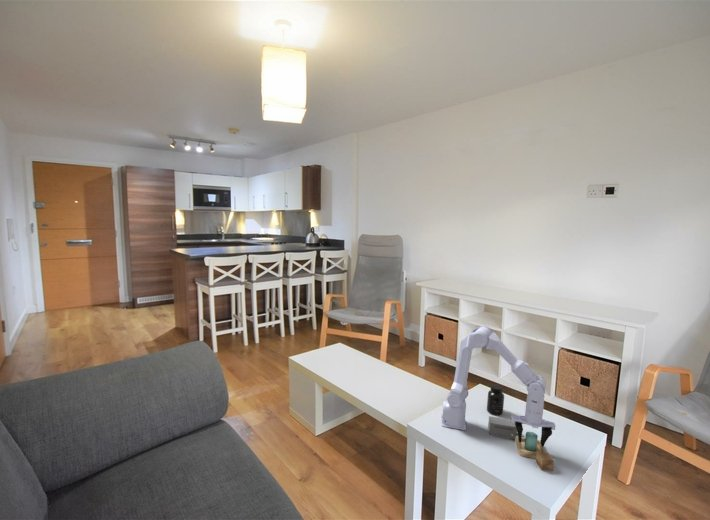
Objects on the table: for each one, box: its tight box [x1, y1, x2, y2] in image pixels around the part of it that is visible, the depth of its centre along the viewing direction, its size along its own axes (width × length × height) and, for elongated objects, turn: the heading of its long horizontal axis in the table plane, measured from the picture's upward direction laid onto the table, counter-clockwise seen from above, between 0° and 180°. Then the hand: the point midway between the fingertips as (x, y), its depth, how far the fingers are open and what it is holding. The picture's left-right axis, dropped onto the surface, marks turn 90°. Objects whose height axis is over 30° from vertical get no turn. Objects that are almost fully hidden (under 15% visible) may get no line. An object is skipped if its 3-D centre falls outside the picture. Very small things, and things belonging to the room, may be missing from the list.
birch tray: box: [514, 435, 547, 460], centre depth 133 cm, size 9×9×2 cm
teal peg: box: [524, 431, 539, 452], centre depth 133 cm, size 4×4×6 cm
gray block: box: [487, 415, 518, 440], centre depth 143 cm, size 10×5×5 cm, turn 75°
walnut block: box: [535, 451, 555, 471], centre depth 125 cm, size 4×4×4 cm
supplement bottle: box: [486, 383, 505, 417], centre depth 158 cm, size 7×7×12 cm
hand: (530, 443), depth 133 cm, fingers open, 7 cm apart
